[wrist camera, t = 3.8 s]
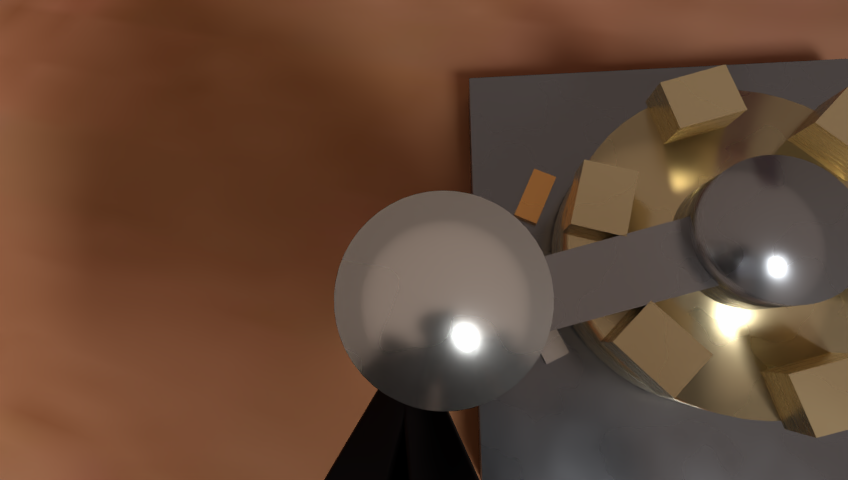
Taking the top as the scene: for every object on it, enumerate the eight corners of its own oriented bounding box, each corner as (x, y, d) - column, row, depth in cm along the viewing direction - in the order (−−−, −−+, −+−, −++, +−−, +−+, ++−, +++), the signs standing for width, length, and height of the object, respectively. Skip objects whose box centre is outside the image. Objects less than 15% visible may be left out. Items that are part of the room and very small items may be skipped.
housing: (931, 484, 14) (995, 504, 12) (480, 476, 15) (482, 493, 13) (838, 81, 17) (878, 53, 15) (468, 99, 18) (469, 75, 16)
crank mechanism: (769, 96, 15) (1236, -274, 6) (904, 365, 13) (1938, 426, 4) (382, 204, 16) (269, 7, 6) (453, 484, 13) (437, 798, 4)
